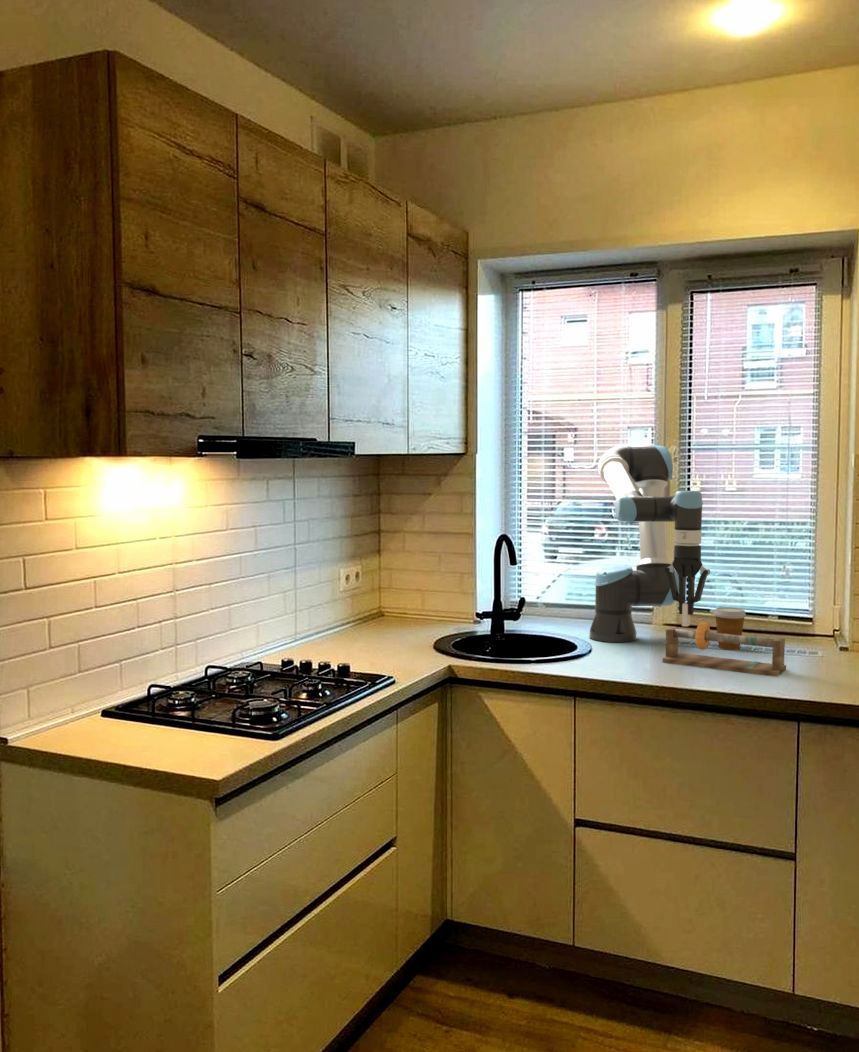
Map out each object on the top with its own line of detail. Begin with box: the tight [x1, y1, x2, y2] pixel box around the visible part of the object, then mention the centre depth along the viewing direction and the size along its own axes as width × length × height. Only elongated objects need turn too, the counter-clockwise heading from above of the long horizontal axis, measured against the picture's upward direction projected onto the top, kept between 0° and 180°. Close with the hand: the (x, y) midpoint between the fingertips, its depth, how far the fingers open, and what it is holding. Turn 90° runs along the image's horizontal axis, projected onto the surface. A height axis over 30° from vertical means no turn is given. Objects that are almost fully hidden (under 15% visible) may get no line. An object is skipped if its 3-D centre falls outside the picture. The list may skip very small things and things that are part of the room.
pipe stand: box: [661, 626, 787, 677], centre depth 266 cm, size 32×10×9 cm, turn 56°
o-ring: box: [694, 621, 711, 651], centre depth 269 cm, size 3×8×8 cm, turn 146°
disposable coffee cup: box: [713, 606, 747, 650], centre depth 292 cm, size 10×10×12 cm
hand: (685, 625), depth 272 cm, fingers closed
